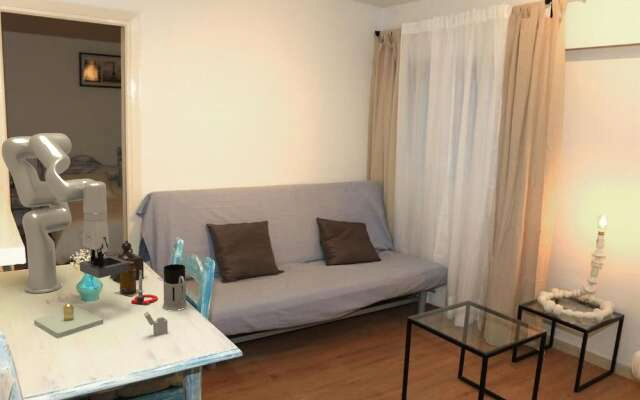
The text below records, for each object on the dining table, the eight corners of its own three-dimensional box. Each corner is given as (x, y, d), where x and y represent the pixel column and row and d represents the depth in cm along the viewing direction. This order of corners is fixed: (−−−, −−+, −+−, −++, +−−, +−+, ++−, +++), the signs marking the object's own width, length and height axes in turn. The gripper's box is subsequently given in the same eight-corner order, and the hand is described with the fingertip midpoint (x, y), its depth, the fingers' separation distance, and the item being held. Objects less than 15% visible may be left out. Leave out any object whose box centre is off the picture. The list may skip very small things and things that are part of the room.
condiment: (128, 287, 204) (127, 259, 202) (144, 291, 201) (144, 262, 199) (114, 293, 198) (113, 263, 196) (130, 297, 194) (130, 267, 192)
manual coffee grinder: (108, 278, 214) (106, 236, 211) (133, 273, 222) (132, 233, 219) (124, 287, 204) (123, 244, 201) (150, 281, 212) (149, 240, 209)
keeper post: (62, 319, 168) (61, 303, 167) (71, 316, 170) (70, 301, 169) (66, 322, 166) (65, 306, 165) (75, 319, 168) (74, 303, 167)
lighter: (165, 330, 166) (165, 307, 164) (167, 332, 164) (167, 309, 163) (144, 336, 161) (143, 312, 160) (145, 338, 160) (145, 314, 159)
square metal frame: (79, 270, 177) (79, 262, 177) (111, 263, 187) (111, 255, 186) (98, 278, 170) (98, 269, 170) (130, 270, 180) (130, 262, 179)
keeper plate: (34, 324, 167) (34, 319, 167) (78, 311, 179) (78, 307, 179) (58, 338, 158) (57, 333, 157) (103, 323, 170) (103, 319, 169)
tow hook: (141, 296, 196) (128, 303, 187) (141, 263, 195) (128, 269, 186) (161, 298, 195) (150, 306, 186) (161, 265, 194) (150, 271, 185)
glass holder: (182, 300, 193) (182, 262, 190) (196, 313, 181) (195, 272, 178) (159, 304, 188) (158, 265, 185) (171, 317, 176) (171, 276, 174)
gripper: (73, 214, 180) (75, 264, 183) (97, 221, 171) (99, 274, 174) (93, 212, 186) (95, 260, 189) (118, 218, 177) (119, 269, 180)
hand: (97, 266), depth 181 cm, fingers closed on square metal frame
